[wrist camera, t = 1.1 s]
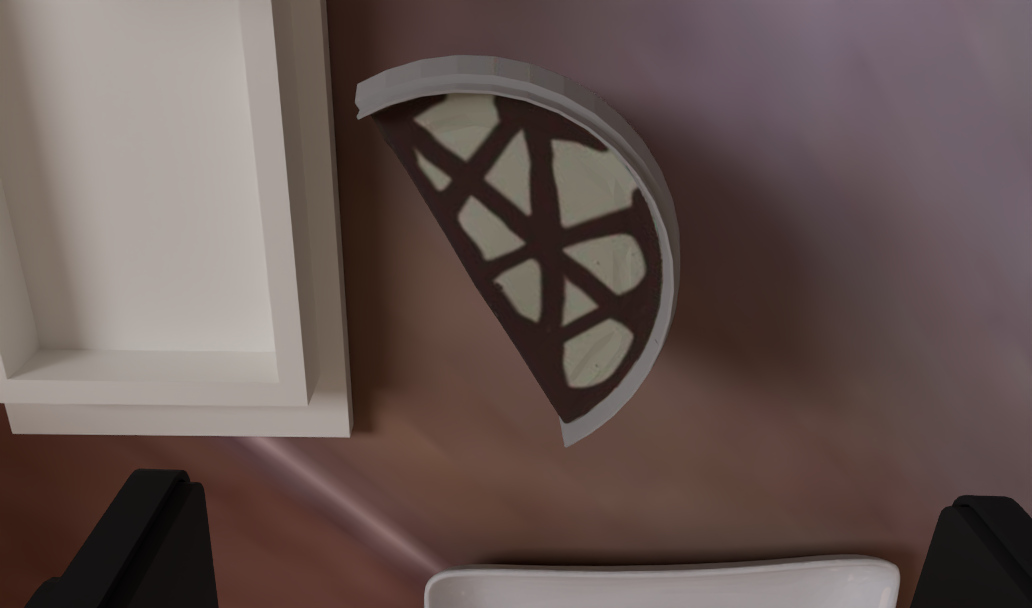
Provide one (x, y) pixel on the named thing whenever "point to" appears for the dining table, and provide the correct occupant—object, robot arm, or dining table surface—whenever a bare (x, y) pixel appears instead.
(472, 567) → the salad plate
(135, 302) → the white dish rack
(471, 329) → the dining table surface
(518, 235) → the food container
